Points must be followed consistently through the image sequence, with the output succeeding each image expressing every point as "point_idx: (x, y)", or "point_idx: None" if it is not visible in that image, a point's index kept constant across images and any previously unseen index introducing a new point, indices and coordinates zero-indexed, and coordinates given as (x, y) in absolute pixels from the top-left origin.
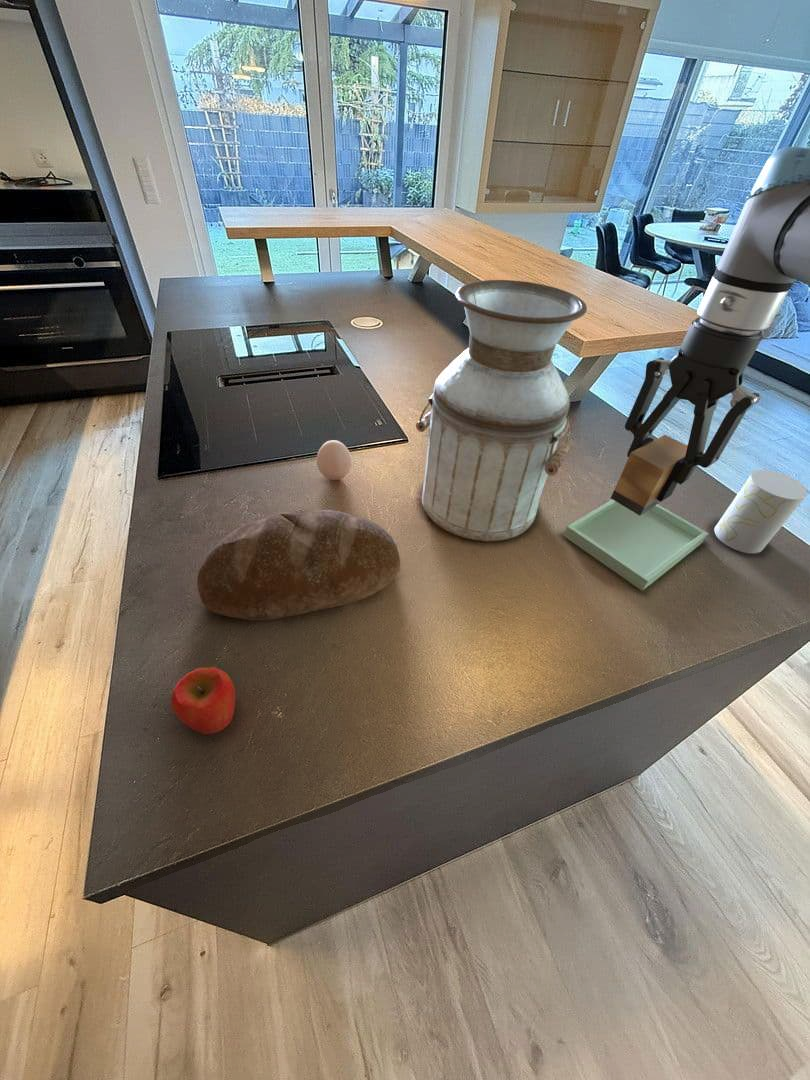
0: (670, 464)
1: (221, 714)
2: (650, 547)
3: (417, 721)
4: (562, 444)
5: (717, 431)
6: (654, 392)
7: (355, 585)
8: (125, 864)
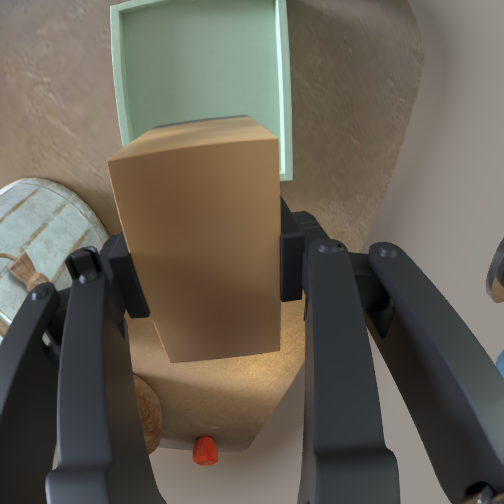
0: (275, 320)
1: (216, 453)
2: (238, 85)
3: (259, 397)
4: (14, 275)
5: (413, 415)
6: (10, 440)
7: (160, 420)
8: (243, 449)
